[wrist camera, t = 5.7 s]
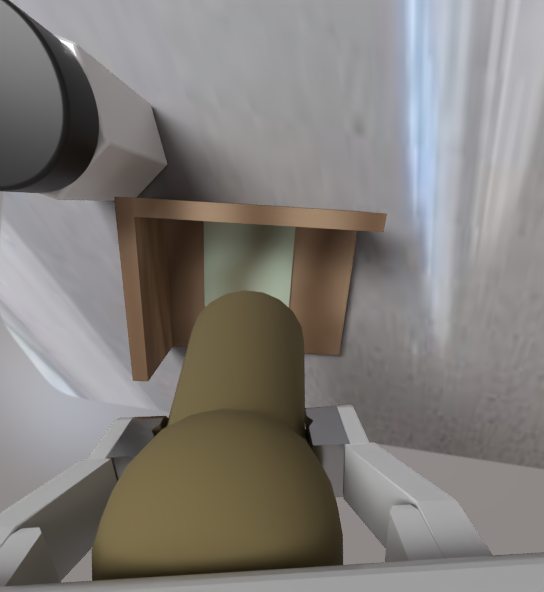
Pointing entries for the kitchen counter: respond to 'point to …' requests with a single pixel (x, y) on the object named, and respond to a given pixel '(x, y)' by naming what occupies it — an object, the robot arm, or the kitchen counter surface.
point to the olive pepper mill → (226, 460)
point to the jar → (69, 119)
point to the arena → (232, 267)
